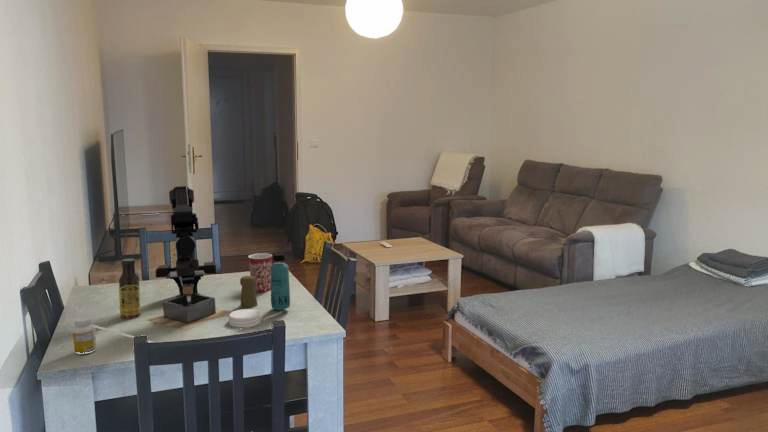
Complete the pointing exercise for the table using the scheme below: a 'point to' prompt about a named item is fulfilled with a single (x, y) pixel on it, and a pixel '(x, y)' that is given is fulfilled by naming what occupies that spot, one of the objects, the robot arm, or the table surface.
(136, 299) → the sauce bottle
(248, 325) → the white round container
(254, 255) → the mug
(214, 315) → the tan square board
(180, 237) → the robot arm
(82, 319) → the supplement bottle
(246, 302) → the pepper shaker
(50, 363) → the table surface
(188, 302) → the plunger
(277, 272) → the beverage bottle
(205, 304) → the shallow square tray
